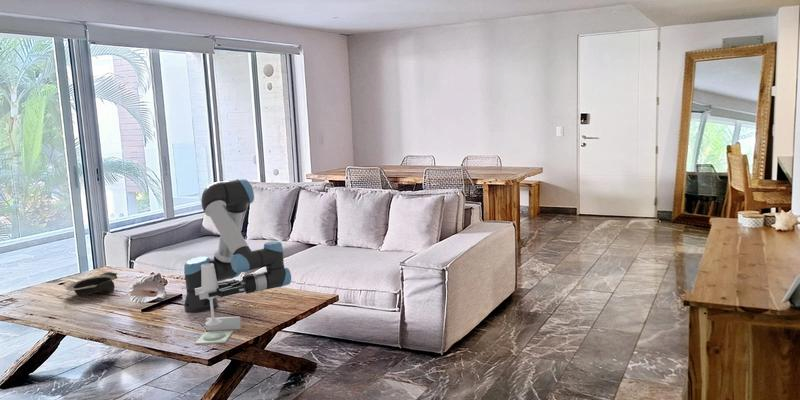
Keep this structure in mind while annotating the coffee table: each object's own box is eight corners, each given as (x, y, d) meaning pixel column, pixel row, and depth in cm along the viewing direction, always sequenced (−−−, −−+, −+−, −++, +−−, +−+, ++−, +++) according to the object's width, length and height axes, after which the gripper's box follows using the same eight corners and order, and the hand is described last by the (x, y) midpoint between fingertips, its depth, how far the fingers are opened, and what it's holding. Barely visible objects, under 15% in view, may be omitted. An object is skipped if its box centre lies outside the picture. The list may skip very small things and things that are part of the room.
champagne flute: (208, 320, 249) (202, 263, 246) (224, 319, 249) (218, 262, 245) (202, 325, 242) (196, 267, 239) (219, 325, 242) (212, 266, 239)
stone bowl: (129, 289, 326) (126, 272, 324) (85, 306, 306) (81, 289, 304) (102, 283, 339) (99, 267, 337) (58, 299, 319) (55, 283, 317)
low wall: (207, 330, 256) (205, 319, 255) (208, 329, 258) (207, 318, 257) (240, 328, 256) (239, 317, 255) (241, 327, 258) (240, 316, 257)
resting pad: (195, 344, 241) (194, 342, 241) (204, 333, 253) (204, 331, 253) (225, 342, 241) (225, 341, 241) (233, 331, 253) (233, 330, 253)
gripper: (262, 297, 245) (204, 309, 233) (247, 286, 262) (192, 297, 250) (260, 279, 244) (202, 290, 232) (246, 269, 261) (190, 279, 249)
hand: (197, 294), depth 241 cm, fingers closed on champagne flute, 7 cm apart
